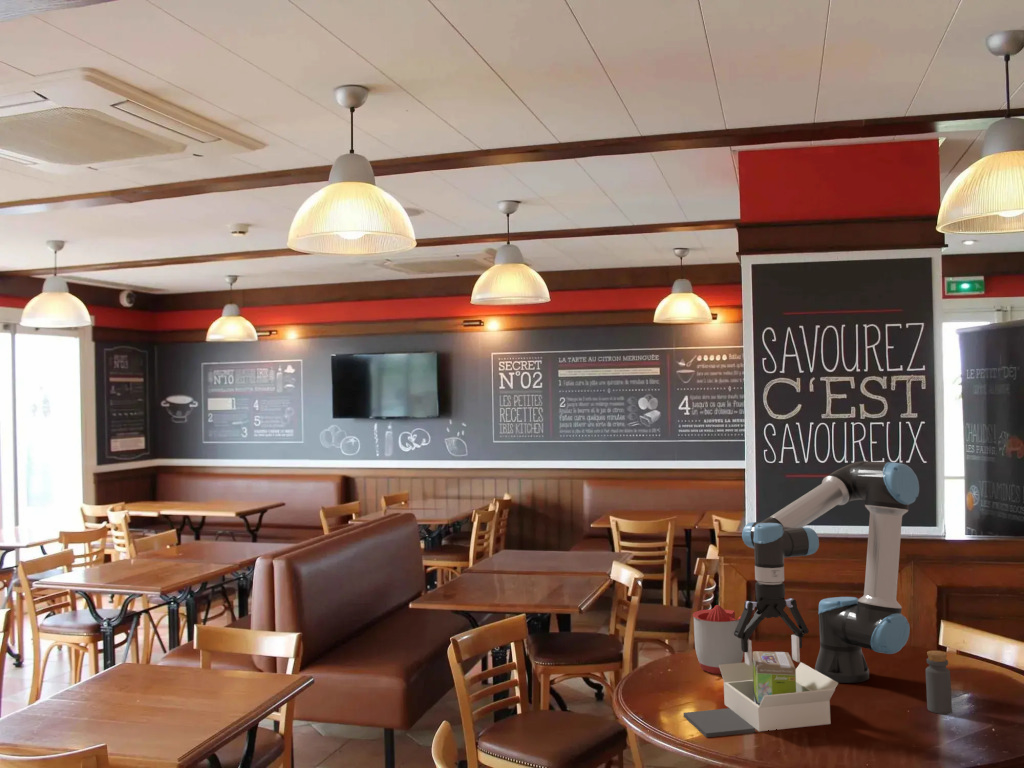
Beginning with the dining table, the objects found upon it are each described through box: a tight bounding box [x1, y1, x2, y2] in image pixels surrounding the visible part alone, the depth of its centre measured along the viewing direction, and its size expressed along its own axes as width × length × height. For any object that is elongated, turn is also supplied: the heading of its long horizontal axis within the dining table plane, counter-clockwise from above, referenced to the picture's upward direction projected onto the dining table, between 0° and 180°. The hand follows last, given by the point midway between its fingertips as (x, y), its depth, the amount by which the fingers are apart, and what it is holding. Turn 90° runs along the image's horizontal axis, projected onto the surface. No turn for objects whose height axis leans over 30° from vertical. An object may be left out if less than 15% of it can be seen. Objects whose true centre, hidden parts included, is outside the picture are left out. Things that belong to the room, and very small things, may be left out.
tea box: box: [752, 650, 796, 705], centre depth 225 cm, size 15×10×15 cm, turn 169°
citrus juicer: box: [692, 604, 744, 675], centre depth 265 cm, size 16×17×20 cm
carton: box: [719, 661, 839, 732], centre depth 225 cm, size 23×27×10 cm
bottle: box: [925, 650, 953, 715], centre depth 224 cm, size 6×6×15 cm
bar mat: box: [683, 707, 756, 738], centre depth 219 cm, size 13×15×1 cm
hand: (772, 662), depth 225 cm, fingers open, 13 cm apart
